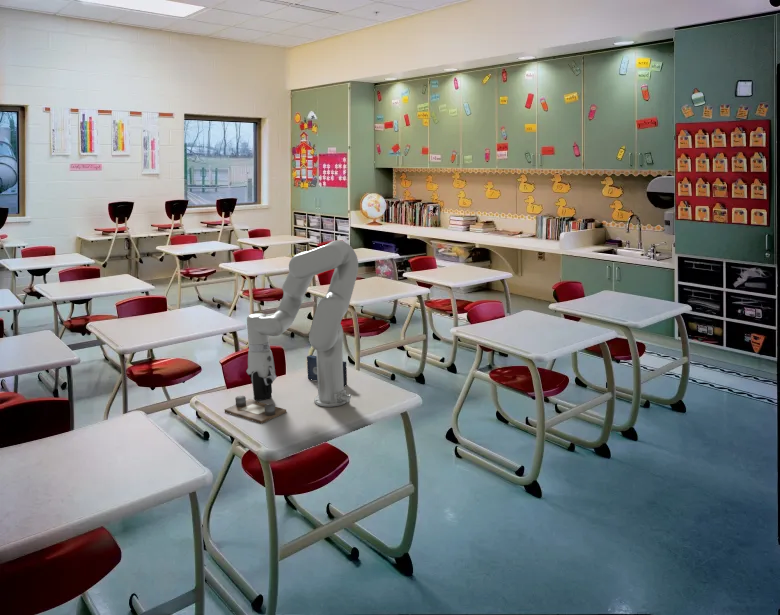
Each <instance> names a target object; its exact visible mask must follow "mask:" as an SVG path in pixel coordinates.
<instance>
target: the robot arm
mask: <svg viewBox="0 0 780 615" xmlns="http://www.w3.org/2000/svg"><path fill="white" fill-rule="evenodd" d="M333 269H334V270H333ZM331 270H333V272H332V273H333V274H332V276H331V279H330V284H329V286H328V290H327V293H326V294H325V296H324V297H322V299H320V300H319V302H318V304H317V306H316V309H315V311H314V312H315V313H314V315H313V319H312V323H311V325H310V326H311V327H310V329H309V334H308V342H309V344H310V345H311V347H312V348H313V349H314V350H316V356H317V379H318V382H317V393H318V394H317V395H316V396H315V397H314V400H313V401H314V403H315V404H316V405H317V406H320V407H324V408H325V407H327V408H332V407H333V408H334V407H340V406H342V405H344V404H346V403H349V402H350V400H351V398H352V395H351V394H347V389H345V388H344V387H345V386H344V383H343V361H344V360H343V359H344V358H343V347H344V346H343V343H344V340H343V339H344V329H343V326H342V324H341V323H342V319H343V317H344V316H345V315H346V314H347V312H348V310H349V306H350V302H351V298H352V295H353V292H354V289H355V288H354V287H355V286H356V285H355V284H356V281H357V277H358V272H359V259H358V256H357V253H356V251H355V250H354V248H353V247H352V246H351V245H350V244H349V243H348V242H346V241H344V240H340V239H337V240H332V241H330V242H328V243H327V244H325V245H321V246H319V247H316V248H314V249H312V250H304V251H301V252H299V253H297V254H295V255H294V256H292V257H291V258H290V260H289V263H288V271H289V272H288V274H287V275H286V277H285V280H284V281H283V284H282V287H281V289H282V292H283V295H282V298H281V301H280V303H279V306H278V308H277V309H276V311H275V313H273V314H271V315H270V316H267V314H265V313H261V312H258V313H251V314H249V315H248V316H247V318H246V326H247V339H248V353H247V369H246V371H245V372H246V373H247V375H248V376H249V378H250V381H251V382H252V380H251V373H252V372H253V371H256V372H258V376H259V377H262V378H263V379H264V382H265V385H264V391H265V395H266V396H267V395H269V394H271V395H272V394H273V388H272V384H273V382H274V381H275V380H276V379H277V375H276V369H275V367H276V366H275V361H274V356H273V352H272V350H271V346H270V337H278V336H281V335H283V333H284V332H286V331H287V330H288V329H290V327H291V326H292V325H293V323H294V321H295V320H296V318H297V315H298V313H299V310H300V308H301V305H302V303H303V301H304V298H305V296H306V295H305V294H306V293H307V291H308V289H309V287H310V284H311V283H312V280H313V278H314V276H317V275H319V274H322V273H324V272H328V271H331ZM267 378H268V379H269V380H268V381H267Z"/></svg>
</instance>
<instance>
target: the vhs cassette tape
mask: <svg viewBox="0 0 780 615" xmlns="http://www.w3.org/2000/svg"><path fill="white" fill-rule="evenodd" d="M306 361H307V362H306V366H307V369H306V370H307V380H308V379H312V380H317V381H318V379H317V355H313V354H310V355H307V356H306ZM347 370H348V369H347V361H344V360H343V383H344V387H346V386H348V374H347V373H348V372H347ZM312 380H311V381H312ZM317 381H316V382H317ZM345 385H346V386H345Z"/></svg>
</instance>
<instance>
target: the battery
mask: <svg viewBox="0 0 780 615" xmlns="http://www.w3.org/2000/svg"><path fill="white" fill-rule="evenodd" d="M251 380H252V381H251ZM268 380H269V379H268V378H267V381H268ZM250 381H251V385H252V390H253V391H252V394H253V400H254V401H261V400H268V399H271V398H272V397H273V396H272V393H271V394H269V395H267V396H266V395H265V391H264V385H265V382H264V379H263V378H262V377H259V376H258V372H256V371H253V372H252V373H251V378H250Z"/></svg>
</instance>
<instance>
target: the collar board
mask: <svg viewBox="0 0 780 615" xmlns="http://www.w3.org/2000/svg"><path fill="white" fill-rule="evenodd" d="M226 412H227V413H226ZM224 413H226V414H229V413H231V414H230V415H232V414H233V415H232V416H236V417H239V418H243V419H245V418H246V419H245V420H248V419H249V421H252V420H253V421H252V422H255V421H256V423H258V422H259V423H258V424H261V423H262V424H264V423H266V422H268V421H270V420H274V419H275V418H277V417H279V416H282V415H284V414H286V413H287V409H286V408H282V407H278V406H275V404H274V403H264V402H260V401H259V400H254V399H250V398H249V399H247V397H246V395H239V396H235V405H233V406H230V407H227V408H225V409H224Z"/></svg>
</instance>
